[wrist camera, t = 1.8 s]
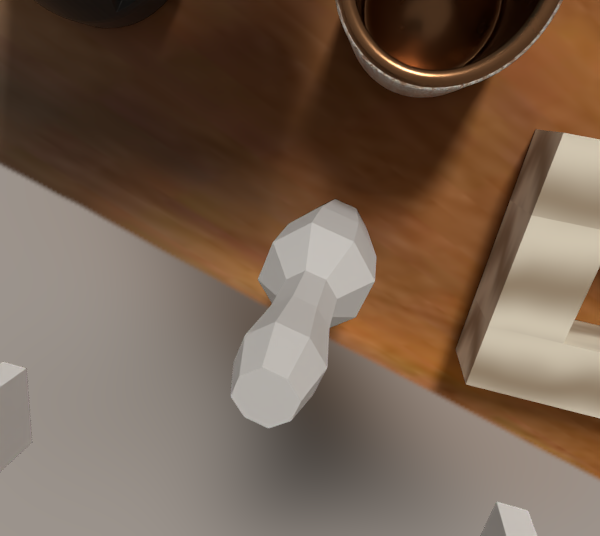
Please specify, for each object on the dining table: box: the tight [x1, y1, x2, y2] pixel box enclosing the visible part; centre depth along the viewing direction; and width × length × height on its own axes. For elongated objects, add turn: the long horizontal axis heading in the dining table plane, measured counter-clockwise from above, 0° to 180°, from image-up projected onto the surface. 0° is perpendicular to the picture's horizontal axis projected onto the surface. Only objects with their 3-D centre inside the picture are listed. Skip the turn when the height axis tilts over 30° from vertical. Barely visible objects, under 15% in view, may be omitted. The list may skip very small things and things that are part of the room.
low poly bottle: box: [231, 199, 376, 428], centre depth 24 cm, size 6×6×22 cm
